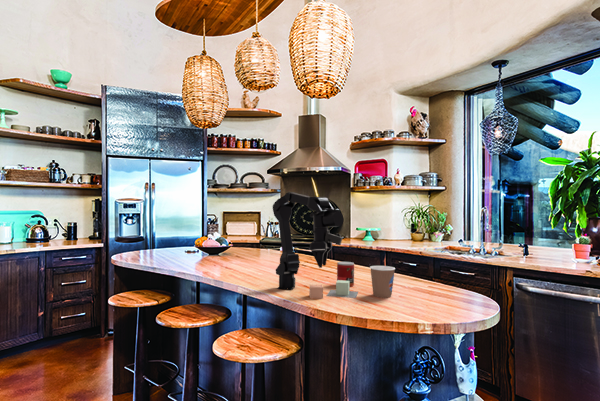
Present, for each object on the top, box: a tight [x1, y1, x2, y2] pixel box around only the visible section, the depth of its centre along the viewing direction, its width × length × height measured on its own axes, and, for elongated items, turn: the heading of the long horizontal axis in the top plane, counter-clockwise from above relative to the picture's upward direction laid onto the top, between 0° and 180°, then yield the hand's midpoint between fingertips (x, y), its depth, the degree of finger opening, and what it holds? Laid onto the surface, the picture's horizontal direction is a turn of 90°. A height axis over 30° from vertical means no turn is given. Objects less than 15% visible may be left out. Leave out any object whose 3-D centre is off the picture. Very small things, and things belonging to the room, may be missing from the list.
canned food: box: [336, 261, 355, 288], centre depth 170 cm, size 8×8×11 cm
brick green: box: [335, 280, 351, 295], centre depth 153 cm, size 5×5×5 cm
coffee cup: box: [369, 265, 396, 299], centre depth 151 cm, size 10×10×12 cm
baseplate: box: [326, 289, 359, 299], centre depth 153 cm, size 12×12×1 cm
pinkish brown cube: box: [308, 284, 324, 300], centre depth 146 cm, size 5×5×5 cm
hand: (322, 266), depth 147 cm, fingers open, 9 cm apart
